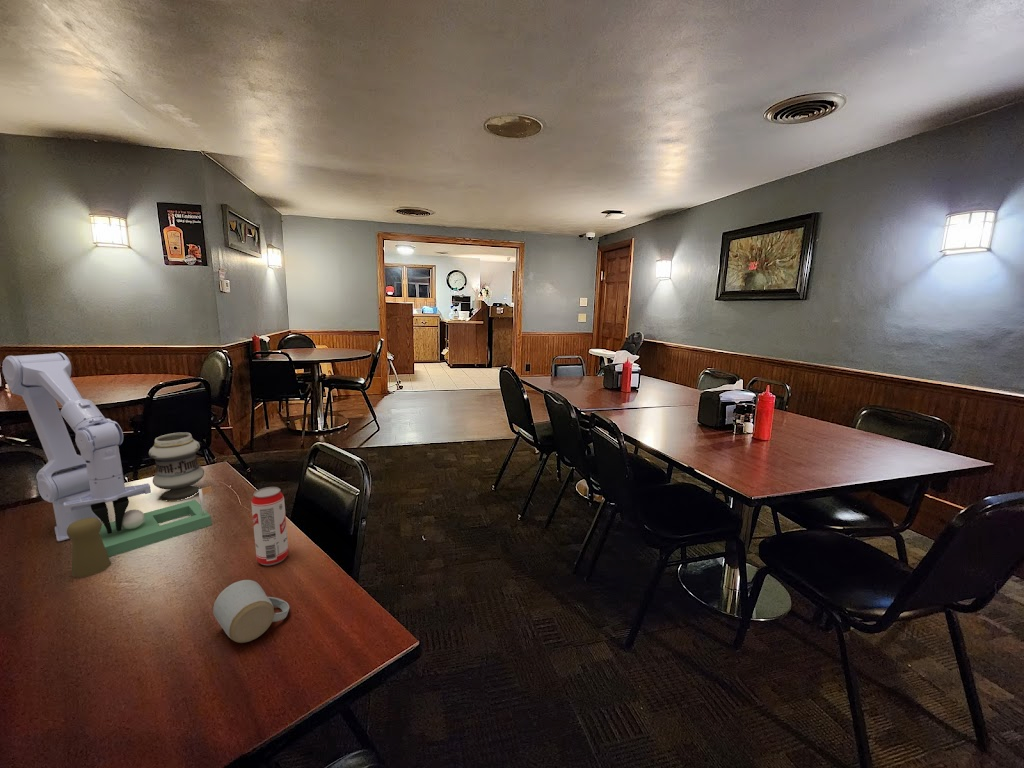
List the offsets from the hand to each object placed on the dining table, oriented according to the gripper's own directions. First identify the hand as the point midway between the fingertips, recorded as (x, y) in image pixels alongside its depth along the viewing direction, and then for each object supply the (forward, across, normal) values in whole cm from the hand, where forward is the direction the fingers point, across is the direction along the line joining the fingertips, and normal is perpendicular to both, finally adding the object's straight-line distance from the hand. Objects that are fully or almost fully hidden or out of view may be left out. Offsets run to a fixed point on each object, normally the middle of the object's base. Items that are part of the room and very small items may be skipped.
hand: (114, 530), depth 100 cm
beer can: (+4, +22, -34) cm, 40 cm away
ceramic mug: (+4, +12, -53) cm, 54 cm away
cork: (+3, -5, -9) cm, 11 cm away
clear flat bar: (+1, +17, -4) cm, 18 cm away
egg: (-2, +3, 0) cm, 4 cm away
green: (+3, +7, +1) cm, 8 cm away
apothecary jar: (+3, +17, +21) cm, 27 cm away
